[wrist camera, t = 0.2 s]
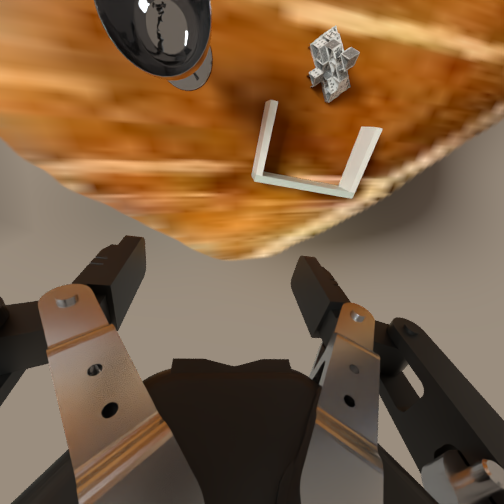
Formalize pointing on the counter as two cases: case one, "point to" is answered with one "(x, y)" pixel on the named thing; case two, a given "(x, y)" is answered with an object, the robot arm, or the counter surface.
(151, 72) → the wine glass
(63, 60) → the counter surface
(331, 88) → the house of cards
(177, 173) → the counter surface
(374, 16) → the counter surface
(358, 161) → the box
